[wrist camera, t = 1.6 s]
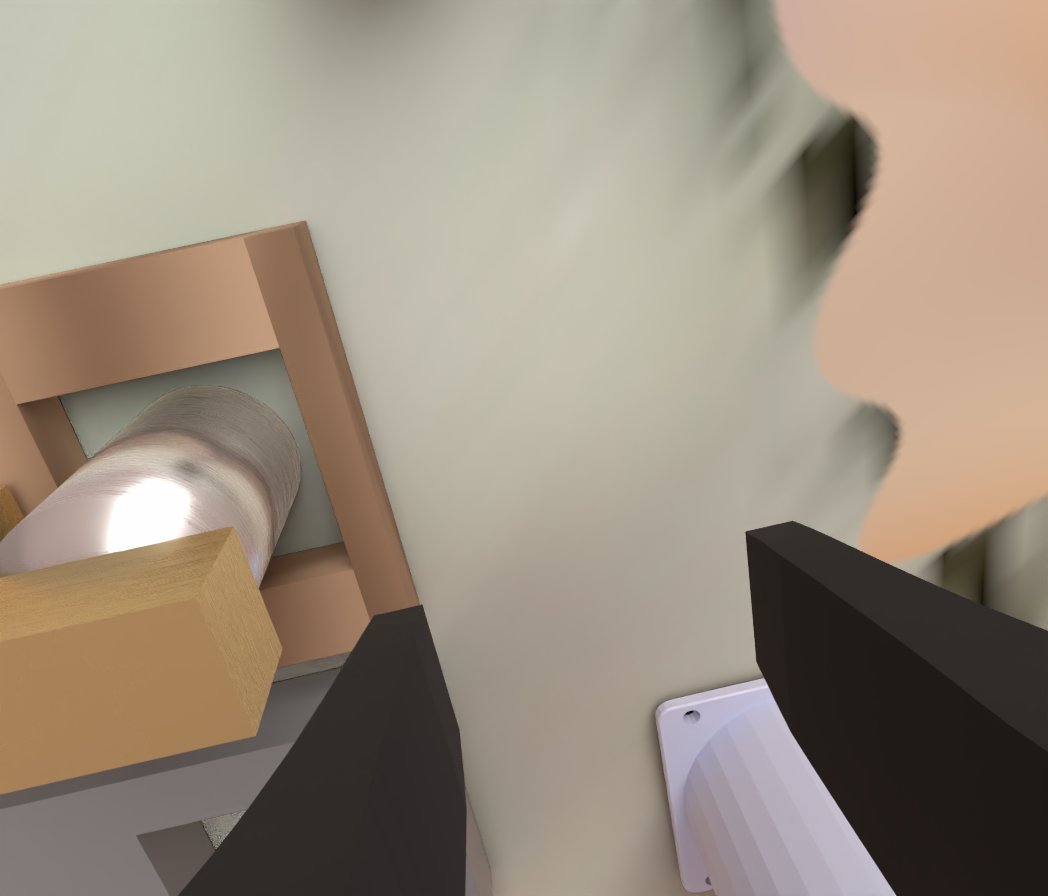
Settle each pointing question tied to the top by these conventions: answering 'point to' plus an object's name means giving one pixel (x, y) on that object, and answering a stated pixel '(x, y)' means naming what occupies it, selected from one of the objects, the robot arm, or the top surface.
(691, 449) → the top surface
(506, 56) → the top surface
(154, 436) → the peg
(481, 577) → the top surface
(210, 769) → the frame
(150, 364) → the socket board
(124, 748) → the bar
